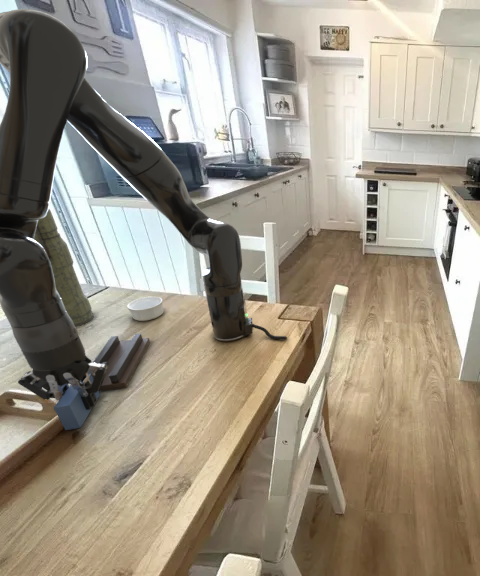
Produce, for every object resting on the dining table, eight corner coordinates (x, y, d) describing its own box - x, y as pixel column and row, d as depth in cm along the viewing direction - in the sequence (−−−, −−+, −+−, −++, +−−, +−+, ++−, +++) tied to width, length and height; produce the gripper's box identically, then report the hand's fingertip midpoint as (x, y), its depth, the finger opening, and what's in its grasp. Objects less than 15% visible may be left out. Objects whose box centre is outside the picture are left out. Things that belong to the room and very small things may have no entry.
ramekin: (123, 319, 98) (119, 307, 96) (148, 305, 105) (145, 294, 104) (148, 324, 96) (144, 311, 94) (172, 310, 104) (169, 298, 102)
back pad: (100, 395, 71) (91, 373, 68) (80, 427, 63) (69, 405, 61) (86, 397, 70) (77, 375, 67) (65, 430, 62) (53, 407, 60)
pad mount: (150, 342, 89) (146, 331, 87) (126, 387, 73) (121, 375, 72) (110, 346, 86) (106, 335, 84) (77, 394, 71) (71, 382, 69)
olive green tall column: (91, 307, 102) (48, 194, 87) (97, 323, 95) (51, 203, 80) (52, 316, 97) (-1, 197, 81) (56, 334, 89) (-3, 206, 74)
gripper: (-17, 356, 53) (27, 430, 61) (86, 345, 58) (115, 415, 65) (13, 331, 60) (49, 401, 67) (104, 323, 64) (129, 389, 72)
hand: (82, 407), depth 66 cm, fingers closed on back pad, 2 cm apart
